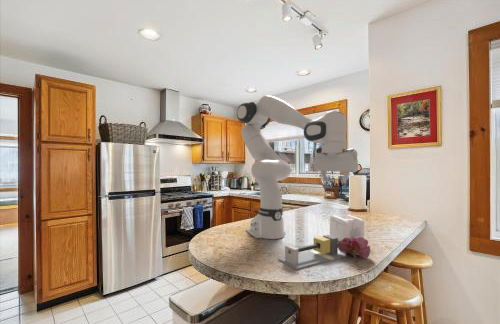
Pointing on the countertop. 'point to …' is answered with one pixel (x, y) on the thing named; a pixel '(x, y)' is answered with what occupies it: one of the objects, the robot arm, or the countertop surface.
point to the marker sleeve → (322, 244)
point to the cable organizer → (346, 227)
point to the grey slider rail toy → (310, 254)
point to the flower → (355, 247)
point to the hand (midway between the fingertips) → (334, 182)
